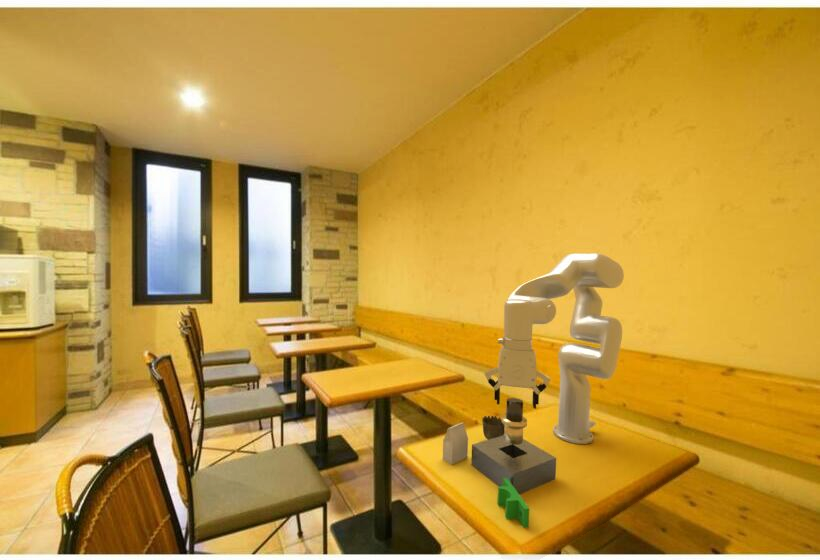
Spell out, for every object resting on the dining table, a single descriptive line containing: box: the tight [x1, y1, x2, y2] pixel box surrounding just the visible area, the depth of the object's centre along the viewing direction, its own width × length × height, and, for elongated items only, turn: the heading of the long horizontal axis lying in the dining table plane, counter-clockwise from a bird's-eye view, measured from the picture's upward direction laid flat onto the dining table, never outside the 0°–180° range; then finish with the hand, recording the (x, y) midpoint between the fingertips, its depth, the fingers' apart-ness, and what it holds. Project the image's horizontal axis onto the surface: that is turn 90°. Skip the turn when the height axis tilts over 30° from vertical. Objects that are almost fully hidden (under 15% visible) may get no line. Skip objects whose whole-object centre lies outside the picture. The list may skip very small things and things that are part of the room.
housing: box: [470, 435, 557, 496], centre depth 99 cm, size 16×16×6 cm
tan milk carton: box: [442, 422, 469, 466], centre depth 105 cm, size 4×7×10 cm, turn 130°
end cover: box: [500, 397, 528, 445], centre depth 99 cm, size 7×7×11 cm
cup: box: [481, 415, 505, 440], centre depth 114 cm, size 8×7×8 cm
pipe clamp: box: [497, 478, 530, 529], centre depth 83 cm, size 11×4×5 cm, turn 10°
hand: (516, 404), depth 99 cm, fingers open, 9 cm apart
